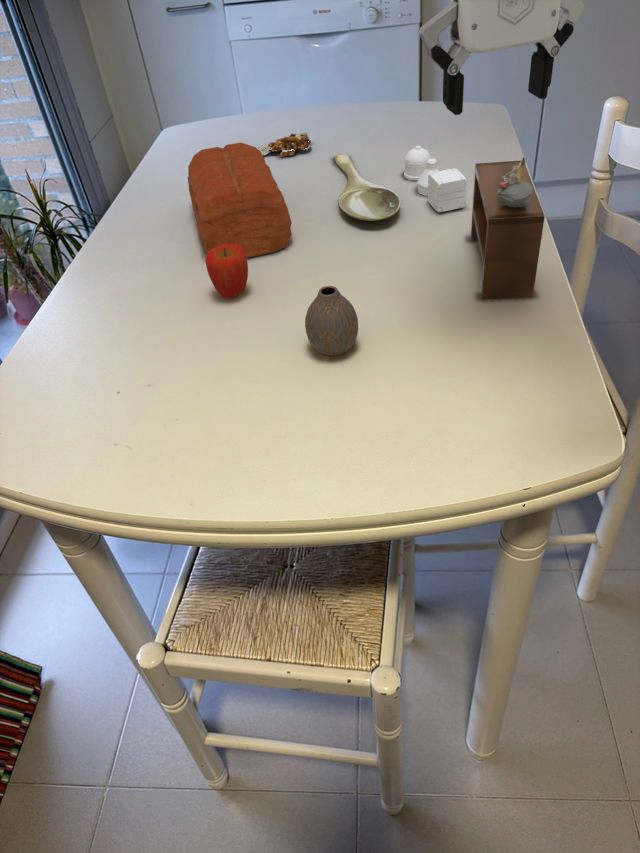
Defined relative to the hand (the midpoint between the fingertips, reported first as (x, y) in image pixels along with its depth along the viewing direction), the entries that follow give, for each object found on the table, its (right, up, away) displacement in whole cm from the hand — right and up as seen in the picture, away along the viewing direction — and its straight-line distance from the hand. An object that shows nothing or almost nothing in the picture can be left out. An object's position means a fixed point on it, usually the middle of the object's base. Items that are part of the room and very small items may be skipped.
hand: (495, 103), depth 71 cm
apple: (-33, -15, +29) cm, 46 cm away
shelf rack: (+8, -11, +27) cm, 30 cm away
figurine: (+6, -6, +15) cm, 17 cm away
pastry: (-27, +24, +69) cm, 78 cm away
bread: (-33, +1, +46) cm, 57 cm away
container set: (+1, +8, +48) cm, 49 cm away
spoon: (-12, +9, +51) cm, 53 cm away
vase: (-17, -25, +16) cm, 34 cm away
